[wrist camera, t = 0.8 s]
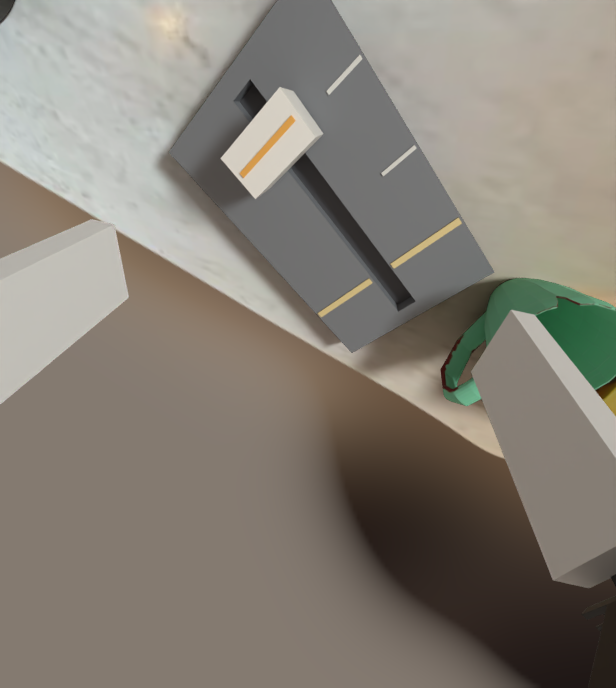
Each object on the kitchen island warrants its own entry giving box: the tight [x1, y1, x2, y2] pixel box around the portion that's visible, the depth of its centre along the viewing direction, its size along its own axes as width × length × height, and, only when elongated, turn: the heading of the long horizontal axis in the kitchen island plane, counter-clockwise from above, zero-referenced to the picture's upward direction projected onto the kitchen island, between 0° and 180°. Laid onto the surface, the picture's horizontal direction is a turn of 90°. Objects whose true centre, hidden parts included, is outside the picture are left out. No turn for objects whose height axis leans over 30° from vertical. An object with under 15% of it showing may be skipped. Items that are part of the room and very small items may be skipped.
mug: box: [441, 278, 616, 406], centre depth 31 cm, size 15×10×10 cm
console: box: [169, 0, 494, 353], centre depth 30 cm, size 26×16×3 cm, turn 41°
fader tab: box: [221, 87, 323, 199], centre depth 25 cm, size 4×6×6 cm, turn 131°
